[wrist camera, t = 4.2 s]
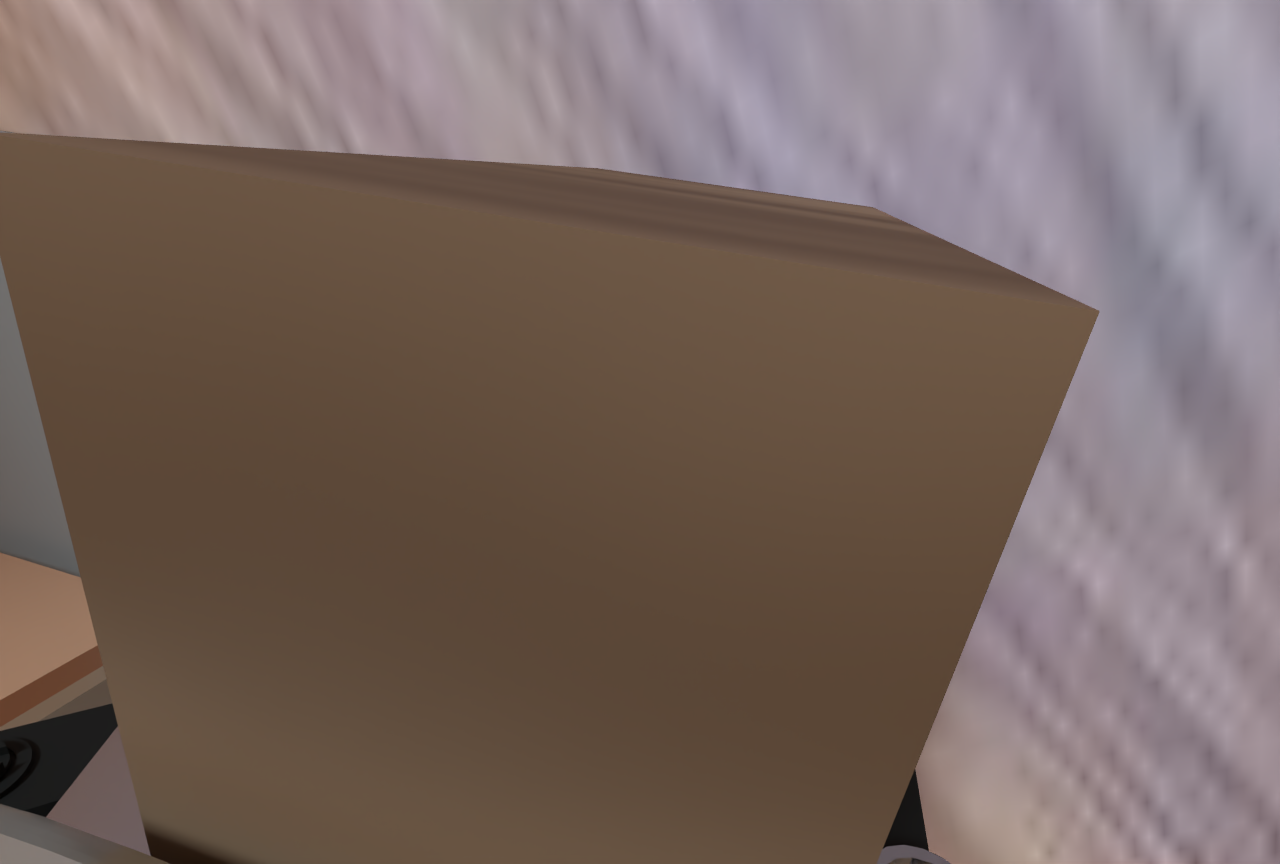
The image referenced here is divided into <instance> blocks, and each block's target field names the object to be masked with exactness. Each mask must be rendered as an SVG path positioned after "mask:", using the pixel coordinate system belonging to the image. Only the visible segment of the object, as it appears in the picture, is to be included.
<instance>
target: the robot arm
mask: <svg viewBox="0 0 1280 864" xmlns="http://www.w3.org/2000/svg"><path fill="white" fill-rule="evenodd" d="M0 864H170V863H167V862H165V861H162V860H160V859H157V858H155V857H152V856H151V855H150V851H149V847H148V843H147V839H146V835H145V831H144V827H143V823H142V819H141V815H140V811H139V807H138V803H137V799H136V795H135V791H134V787H133V783H132V779H131V775H130V771H129V767H128V763H127V759H126V755H125V752H124V748H123V744H122V740H121V736H120V732H119V728H118V724H117V720H116V716H115V712H114V708H113V704H108V705H104V706H99V707H95V708H91V709H87V710H83V711H79V712H75V713H71V714H67V715H63V716H59V717H55V718H51V719H47V720H43V721H38V722H34V723H30V724H26V725H22V726H18V727H14V728H10V729H6V730H2V731H0ZM877 864H950V863H949V862H948V861H946V860H945V859H944V858H942V857H940V856H938V855H936V854H933V853H931V852H929V849H928V843H927V837H926V831H925V825H924V819H923V813H922V807H921V801H920V795H919V789H918V783H917V777H916V771H915V770H914V772H913V775H912V777H911V780H910V782H909V785H908V787H907V790H906V792H905V795H904V797H903V799H902V802H901V804H900V807H899V809H898V812H897V814H896V817H895V819H894V822H893V824H892V827H891V829H890V832H889V834H888V837H887V839H886V842H885V844H884V847H883V849H882V851H881V854H880V856H879V859H878V861H877Z"/></svg>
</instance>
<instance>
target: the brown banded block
mask: <svg viewBox="0 0 1280 864" xmlns="http://www.w3.org/2000/svg"><path fill="white" fill-rule="evenodd" d="M0 258H1V262H2V266H3V270H4V274H5V278H6V282H7V286H8V290H9V294H10V298H11V302H12V306H13V310H14V314H15V318H16V322H17V326H18V330H19V334H20V338H21V342H22V346H23V350H24V354H25V358H26V362H27V365H28V369H29V373H30V377H31V381H32V385H33V389H34V393H35V397H36V401H37V405H38V409H39V413H40V417H41V421H42V425H43V429H44V433H45V437H46V441H47V445H48V449H49V453H50V457H51V461H52V465H53V469H54V473H55V477H56V481H57V485H58V489H59V493H60V497H61V501H62V505H63V509H64V513H65V517H66V521H67V525H68V529H69V533H70V537H71V541H72V545H73V549H74V553H75V557H76V560H77V564H78V568H79V572H80V576H81V580H82V584H83V588H84V592H85V596H86V600H87V604H88V608H89V612H90V616H91V620H92V624H93V628H94V632H95V636H96V640H97V644H98V648H99V652H100V656H101V660H102V664H103V668H104V672H105V676H106V680H107V684H108V688H109V692H110V696H111V700H112V704H113V708H114V712H115V716H116V720H117V724H118V728H119V732H120V736H121V740H122V744H123V748H124V752H125V755H126V759H127V763H128V767H129V771H130V775H131V779H132V783H133V787H134V791H135V795H136V799H137V803H138V807H139V811H140V815H141V819H142V823H143V827H144V831H145V835H146V839H147V843H148V847H149V851H150V855H151V856H152V857H155V858H157V859H160V860H162V861H165V862H167V863H170V864H877V861H878V859H879V856H880V854H881V851H882V849H883V847H884V844H885V842H886V839H887V837H888V834H889V832H890V829H891V827H892V824H893V822H894V819H895V817H896V814H897V812H898V809H899V807H900V804H901V802H902V799H903V797H904V795H905V792H906V790H907V787H908V785H909V782H910V780H911V777H912V775H913V772H914V770H915V767H916V765H917V762H918V760H919V757H920V755H921V752H922V750H923V747H924V745H925V742H926V740H927V738H928V735H929V733H930V730H931V728H932V725H933V723H934V720H935V718H936V715H937V713H938V710H939V708H940V705H941V703H942V700H943V698H944V695H945V693H946V690H947V688H948V686H949V683H950V681H951V678H952V676H953V673H954V671H955V668H956V666H957V663H958V661H959V658H960V656H961V653H962V651H963V648H964V646H965V643H966V641H967V638H968V636H969V633H970V631H971V629H972V626H973V624H974V621H975V619H976V616H977V614H978V611H979V609H980V606H981V604H982V601H983V599H984V596H985V594H986V591H987V589H988V586H989V584H990V581H991V579H992V577H993V574H994V572H995V569H996V567H997V564H998V562H999V559H1000V557H1001V554H1002V552H1003V549H1004V547H1005V544H1006V542H1007V539H1008V537H1009V534H1010V532H1011V529H1012V527H1013V524H1014V522H1015V520H1016V517H1017V515H1018V512H1019V510H1020V507H1021V505H1022V502H1023V500H1024V497H1025V495H1026V492H1027V490H1028V487H1029V485H1030V482H1031V480H1032V477H1033V475H1034V472H1035V470H1036V468H1037V465H1038V463H1039V460H1040V458H1041V455H1042V453H1043V450H1044V448H1045V445H1046V443H1047V440H1048V438H1049V435H1050V433H1051V430H1052V428H1053V425H1054V423H1055V420H1056V418H1057V416H1058V413H1059V411H1060V408H1061V406H1062V403H1063V401H1064V398H1065V396H1066V393H1067V391H1068V388H1069V386H1070V383H1071V381H1072V378H1073V376H1074V373H1075V371H1076V368H1077V366H1078V363H1079V361H1080V359H1081V356H1082V354H1083V351H1084V349H1085V346H1086V344H1087V341H1088V339H1089V336H1090V334H1091V331H1092V329H1093V326H1094V324H1095V321H1096V319H1097V316H1098V314H1099V311H1098V310H1096V309H1094V308H1092V307H1089V306H1087V305H1085V304H1083V303H1081V302H1079V301H1076V300H1074V299H1072V298H1070V297H1068V296H1065V295H1063V294H1061V293H1059V292H1057V291H1055V290H1052V289H1050V288H1048V287H1046V286H1044V285H1041V284H1039V283H1037V282H1035V281H1033V280H1030V279H1028V278H1026V277H1024V276H1022V275H1020V274H1017V273H1015V272H1013V271H1011V270H1009V269H1006V268H1004V267H1002V266H1000V265H998V264H996V263H993V262H991V261H989V260H987V259H985V258H982V257H980V256H978V255H976V254H974V253H971V252H969V251H967V250H965V249H963V248H961V247H958V246H956V245H954V244H952V243H950V242H947V241H945V240H943V239H941V238H939V237H937V236H934V235H932V234H930V233H928V232H926V231H923V230H921V229H919V228H917V227H915V226H913V225H910V224H908V223H906V222H904V221H902V220H899V219H897V218H895V217H893V216H891V215H888V214H886V213H884V212H882V211H880V210H878V209H875V208H873V207H867V206H860V205H853V204H846V203H839V202H832V201H824V200H817V199H810V198H803V197H796V196H789V195H782V194H775V193H768V192H761V191H754V190H747V189H740V188H732V187H725V186H718V185H711V184H704V183H697V182H690V181H683V180H676V179H669V178H662V177H655V176H648V175H640V174H633V173H626V172H619V171H612V170H605V169H598V168H582V167H565V166H549V165H532V164H516V163H499V162H482V161H466V160H449V159H433V158H416V157H399V156H383V155H366V154H350V153H333V152H317V151H300V150H283V149H267V148H250V147H234V146H217V145H200V144H184V143H167V142H151V141H134V140H117V139H101V138H84V137H68V136H51V135H35V134H18V133H1V132H0Z"/></svg>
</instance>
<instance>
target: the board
mask: <svg viewBox="0 0 1280 864" xmlns="http://www.w3.org/2000/svg"><path fill="white" fill-rule="evenodd" d="M0 132H1V133H11V132H5V131H0ZM0 553H3V554H7V555H10V556H13V557H16V558H20V559H23V560H26V561H29V562H32V563H36V564H39V565H42V566H45V567H49V568H52V569H55V570H58V571H62V572H65V573H68V574H71V575H74V576H78V577H81V576H80V572H79V568H78V564H77V560H76V557H75V553H74V549H73V545H72V541H71V537H70V533H69V529H68V525H67V521H66V517H65V513H64V509H63V505H62V501H61V497H60V493H59V489H58V485H57V481H56V477H55V473H54V469H53V465H52V461H51V457H50V453H49V449H48V445H47V441H46V437H45V433H44V429H43V425H42V421H41V417H40V413H39V409H38V405H37V401H36V397H35V393H34V389H33V385H32V381H31V377H30V373H29V369H28V365H27V362H26V358H25V354H24V350H23V346H22V342H21V338H20V334H19V330H18V326H17V322H16V318H15V314H14V310H13V306H12V302H11V298H10V294H9V290H8V286H7V282H6V278H5V274H4V270H3V266H2V262H1V258H0ZM108 704H112V700H111V696H110V692H109V688H108V684H107V680H104V681H102V682H101V683H99V684H97V685H96V686H94V687H93V688H91V689H89V690H88V691H86V692H85V693H83V694H81V695H80V696H78V697H77V698H75V699H73V700H72V701H70V702H68V703H67V704H65V705H64V706H62V707H60V708H59V709H57V710H56V711H54V712H52V713H51V714H49V715H48V716H46V717H44V718H43V719H41V720H39V721H43V720H47V719H51V718H55V717H59V716H63V715H67V714H71V713H75V712H79V711H83V710H87V709H91V708H95V707H99V706H104V705H108Z"/></svg>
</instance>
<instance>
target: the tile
mask: <svg viewBox="0 0 1280 864" xmlns="http://www.w3.org/2000/svg"><path fill="white" fill-rule="evenodd" d="M104 680H106V676H105V672H104V668H103V664H102V660H101V656H100V652H99V648H98V644H97V640H96V636H95V632H94V628H93V624H92V620H91V616H90V612H89V608H88V604H87V600H86V596H85V592H84V588H83V584H82V580H81V577H78V576H74V575H71V574H68V573H65V572H62V571H58V570H55V569H52V568H49V567H45V566H42V565H39V564H36V563H32V562H29V561H26V560H23V559H20V558H16V557H13V556H10V555H7V554H3V553H0V731H2V730H6V729H10V728H14V727H18V726H22V725H26V724H30V723H34V722H38V721H39V720H41V719H43V718H44V717H46V716H48V715H49V714H51V713H52V712H54V711H56V710H57V709H59V708H60V707H62V706H64V705H65V704H67V703H68V702H70V701H72V700H73V699H75V698H77V697H78V696H80V695H81V694H83V693H85V692H86V691H88V690H89V689H91V688H93V687H94V686H96V685H97V684H99V683H101V682H102V681H104Z"/></svg>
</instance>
